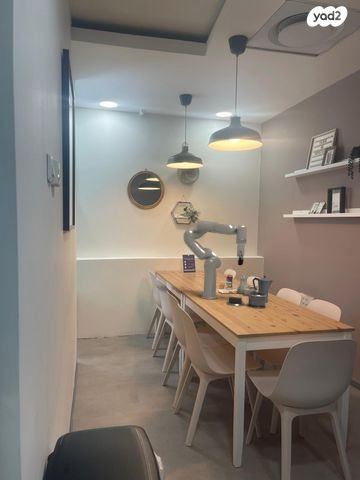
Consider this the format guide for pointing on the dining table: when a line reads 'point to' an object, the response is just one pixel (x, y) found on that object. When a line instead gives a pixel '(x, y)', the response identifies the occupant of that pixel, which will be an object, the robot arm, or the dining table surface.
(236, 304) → the lid
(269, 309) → the dining table surface
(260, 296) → the pot
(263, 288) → the moka pot
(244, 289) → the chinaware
